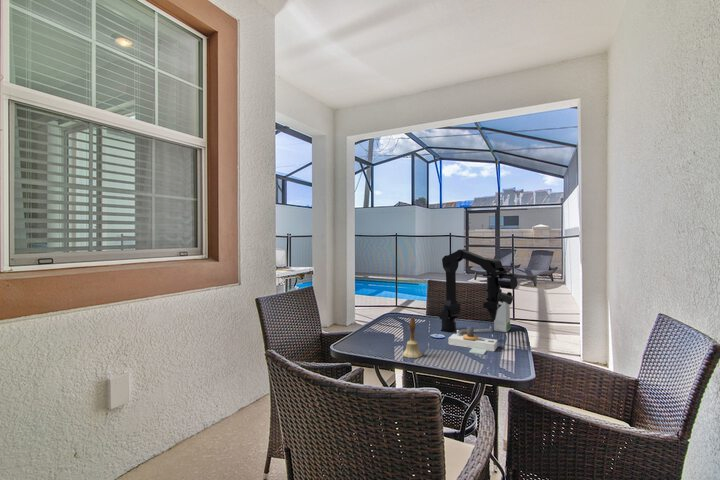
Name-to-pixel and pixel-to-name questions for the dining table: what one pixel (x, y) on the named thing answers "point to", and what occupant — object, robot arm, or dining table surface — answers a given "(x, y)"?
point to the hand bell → (412, 343)
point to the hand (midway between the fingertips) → (493, 320)
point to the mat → (477, 351)
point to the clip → (476, 330)
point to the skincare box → (502, 318)
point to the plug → (470, 334)
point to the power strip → (473, 342)
